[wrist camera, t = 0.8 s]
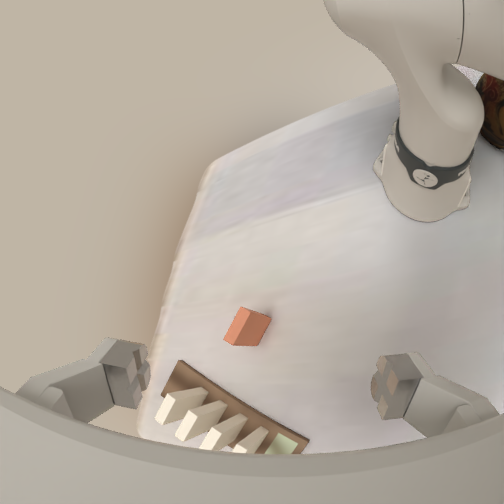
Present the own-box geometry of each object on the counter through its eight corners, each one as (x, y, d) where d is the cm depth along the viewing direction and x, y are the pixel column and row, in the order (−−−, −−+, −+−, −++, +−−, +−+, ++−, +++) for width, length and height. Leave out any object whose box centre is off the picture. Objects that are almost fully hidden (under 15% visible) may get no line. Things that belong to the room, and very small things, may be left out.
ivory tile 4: (207, 422, 44) (174, 435, 35) (220, 399, 44) (188, 409, 35) (214, 427, 43) (182, 442, 34) (228, 405, 44) (197, 416, 35)
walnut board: (182, 360, 50) (178, 360, 49) (309, 439, 39) (308, 442, 38) (164, 394, 49) (160, 395, 48) (284, 474, 38) (282, 477, 37)
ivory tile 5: (189, 409, 45) (154, 418, 36) (201, 386, 46) (167, 393, 37) (196, 414, 45) (162, 425, 36) (208, 392, 45) (175, 399, 36)
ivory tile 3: (226, 435, 42) (196, 452, 33) (240, 412, 43) (211, 426, 34) (234, 440, 41) (205, 458, 32) (248, 418, 42) (221, 433, 33)
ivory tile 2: (246, 448, 40) (219, 468, 31) (260, 425, 41) (236, 443, 32) (254, 453, 40) (229, 475, 31) (269, 430, 40) (247, 450, 31)
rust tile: (248, 341, 47) (223, 339, 38) (263, 314, 48) (240, 306, 39) (257, 345, 46) (232, 345, 37) (271, 318, 47) (250, 312, 38)
